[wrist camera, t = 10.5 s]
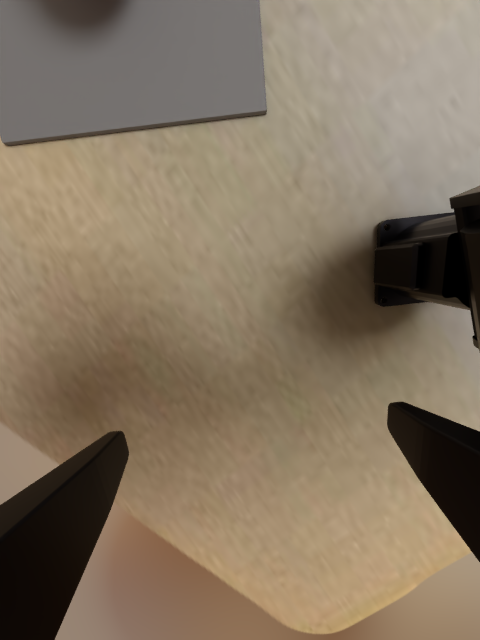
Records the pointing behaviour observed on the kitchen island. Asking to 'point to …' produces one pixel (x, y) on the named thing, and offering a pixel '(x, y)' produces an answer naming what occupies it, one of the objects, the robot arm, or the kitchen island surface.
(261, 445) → the kitchen island surface
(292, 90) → the kitchen island surface
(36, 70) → the mat
